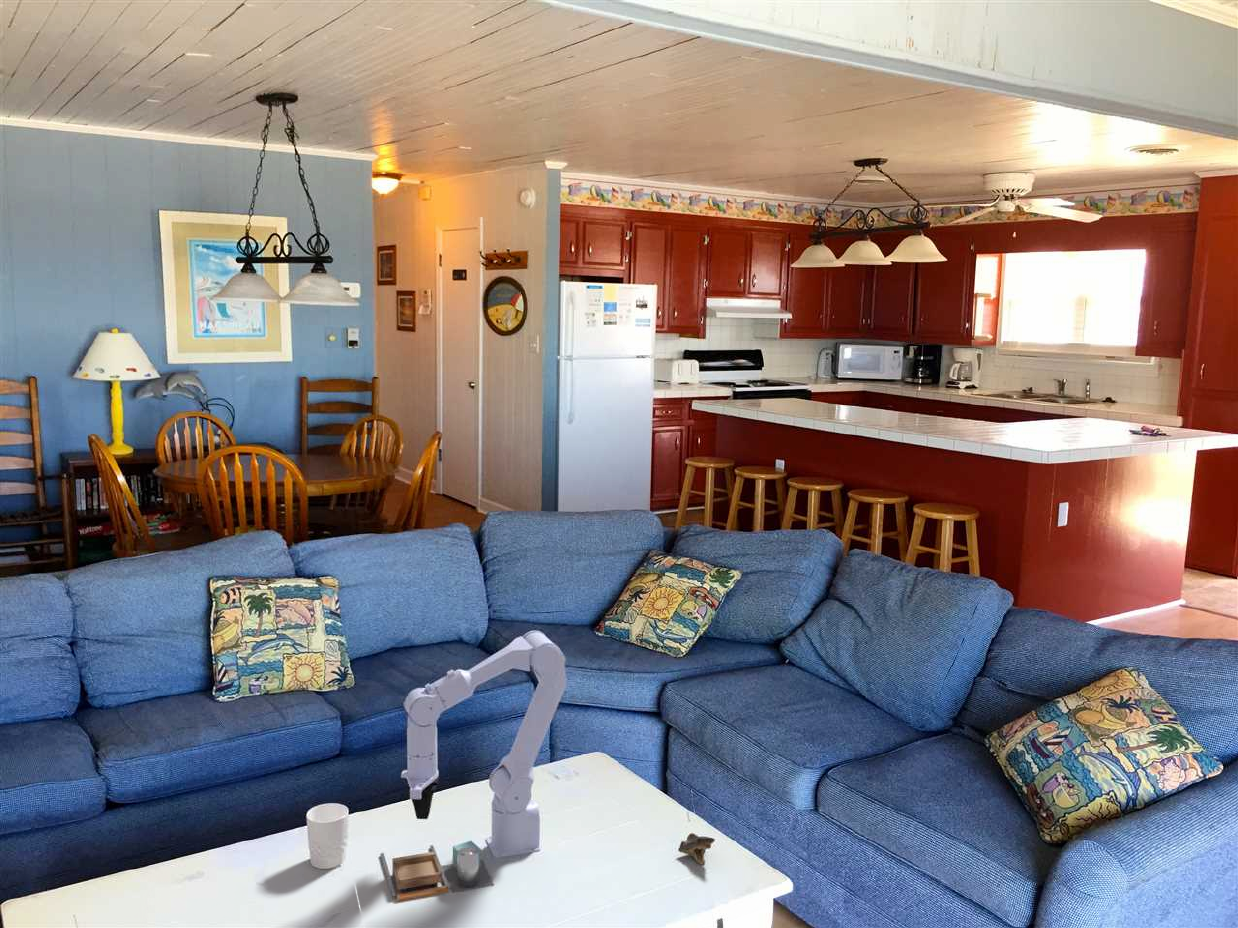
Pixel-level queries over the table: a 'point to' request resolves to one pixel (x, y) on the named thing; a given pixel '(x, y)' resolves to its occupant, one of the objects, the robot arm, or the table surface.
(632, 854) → the table surface
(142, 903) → the table surface
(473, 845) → the part
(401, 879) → the brown wooden tray
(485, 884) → the mat
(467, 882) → the part
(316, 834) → the white cup
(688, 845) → the shark head
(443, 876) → the track
